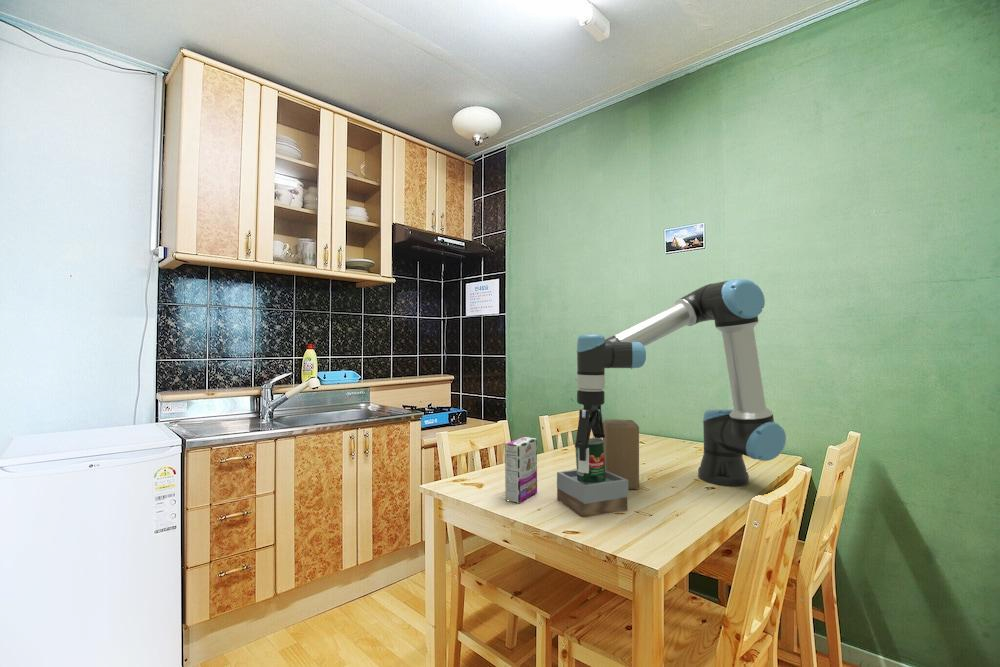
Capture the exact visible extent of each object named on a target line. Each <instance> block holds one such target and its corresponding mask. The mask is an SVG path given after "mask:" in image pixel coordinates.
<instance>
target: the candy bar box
mask: <svg viewBox="0 0 1000 667" xmlns="http://www.w3.org/2000/svg"><path fill="white" fill-rule="evenodd" d="M537 445H538V442H537V438H536V437H535V438H534V437H529V436H523V437H519V438H517V439H515V440H512V441H509V442H507V443H505V444H504V469H505V472H504V474H505V483H504V484H505V487H504V488H505V501H506V500H509V501H513V502H512V503H514V502H517V503H516V504H521V503H523V502H525V501H526V500H527V498H528V499H529V498H531V497H532V496H534V495H536V494H537V493H538V464H537V463H538V453H537V452H538V450H537V449H538V448H537ZM535 493H536V494H535ZM524 500H525V501H524ZM509 501H508V502H509ZM522 501H523V502H522Z"/></svg>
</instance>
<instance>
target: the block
mask: <svg viewBox="0 0 1000 667" xmlns="http://www.w3.org/2000/svg"><path fill="white" fill-rule="evenodd" d="M602 421H603V429H604V434H605V438H602V440H603V441H604V442H603V445H604V461H605V470H606V471H608V472H611V473H613V474H615V475H618V476H620V477H622V478H625V479H627V480H628V490H638V489H639V488H640V426H639V425H638V424H637V423H636V422H635V421H634V420H632V419H616V418H615V419H607V418H606V419H603V420H602Z"/></svg>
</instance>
